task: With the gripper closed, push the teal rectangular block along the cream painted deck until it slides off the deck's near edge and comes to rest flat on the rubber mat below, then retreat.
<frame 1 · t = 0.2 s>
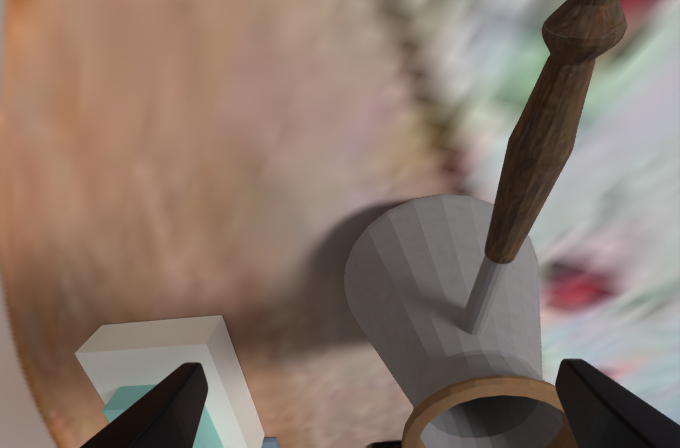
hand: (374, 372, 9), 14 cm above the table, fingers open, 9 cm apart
teal rectangular block: (177, 424, 28), point 3 cm above the table, touching deck
coffee pot: (430, 190, 22), on the table
deck: (189, 384, 30), on the table
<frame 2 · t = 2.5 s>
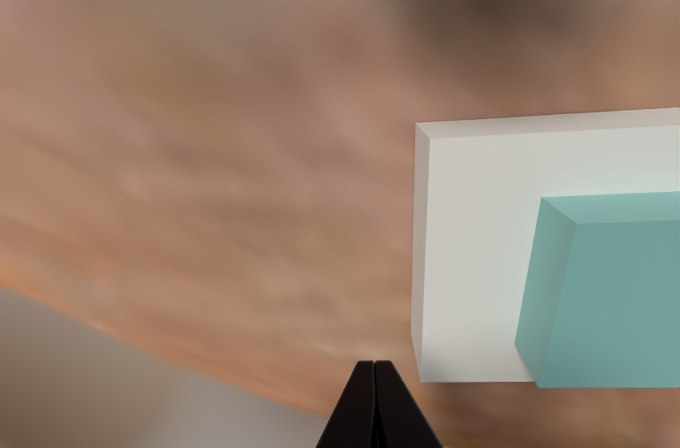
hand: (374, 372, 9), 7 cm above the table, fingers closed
teal rectangular block: (664, 274, 12), point 3 cm above the table, touching deck
deck: (582, 235, 15), on the table
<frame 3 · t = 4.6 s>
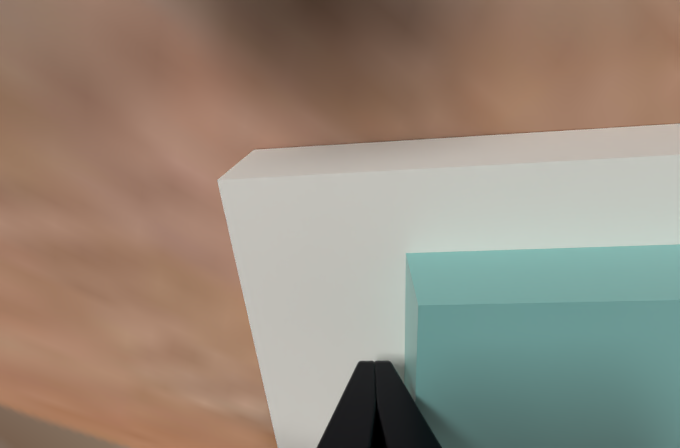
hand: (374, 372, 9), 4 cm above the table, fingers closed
teal rectangular block: (575, 346, 9), point 3 cm above the table, touching gripper
deck: (476, 281, 12), on the table
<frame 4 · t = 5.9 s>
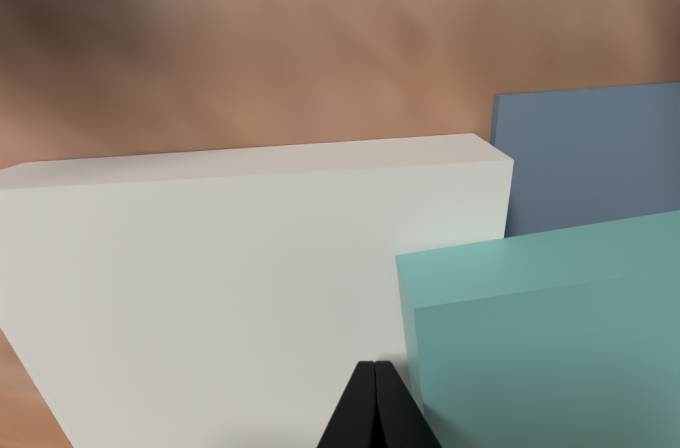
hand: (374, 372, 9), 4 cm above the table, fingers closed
teal rectangular block: (574, 325, 9), point 3 cm above the table, touching deck
deck: (264, 285, 13), on the table
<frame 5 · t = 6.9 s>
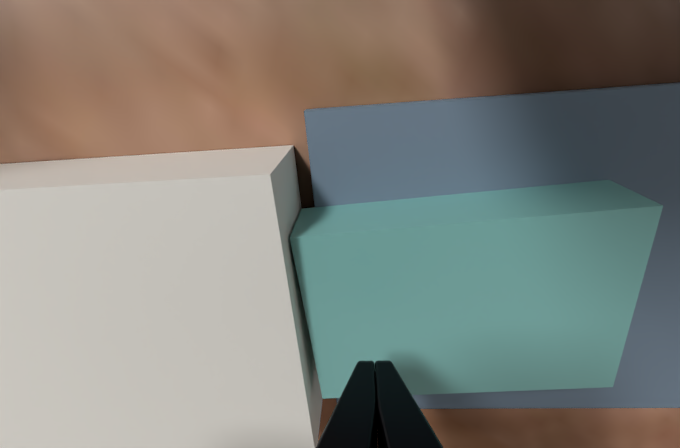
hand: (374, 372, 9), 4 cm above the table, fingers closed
mat: (550, 276, 12), on the table
teal rectangular block: (448, 278, 12), resting on mat
deck: (126, 290, 13), on the table
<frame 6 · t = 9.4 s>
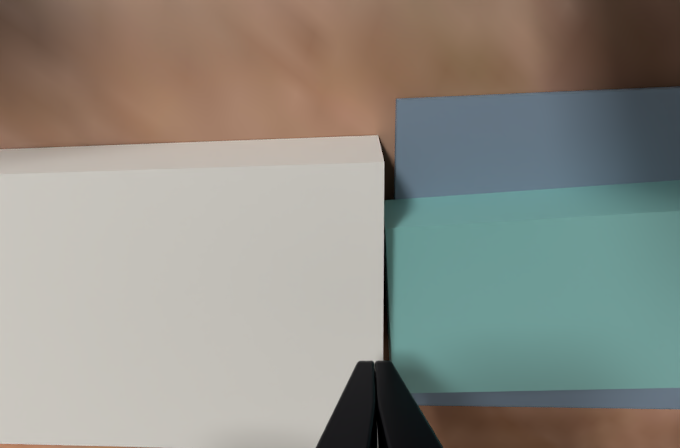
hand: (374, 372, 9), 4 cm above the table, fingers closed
mat: (623, 275, 12), on the table
teal rectangular block: (521, 275, 12), resting on mat
deck: (187, 279, 13), on the table
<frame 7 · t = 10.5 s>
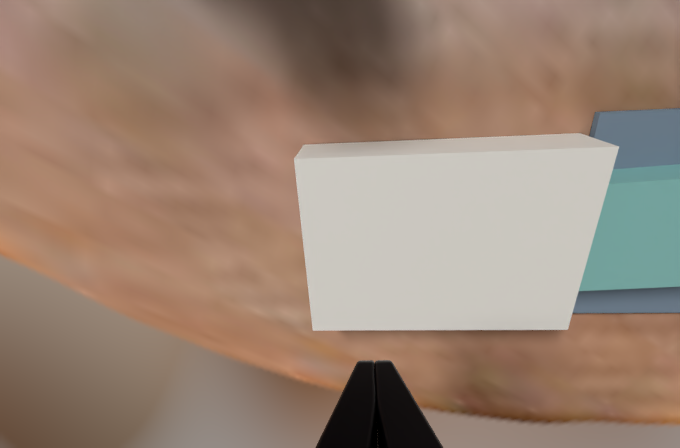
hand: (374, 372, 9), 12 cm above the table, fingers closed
teal rectangular block: (655, 219, 19), resting on mat
deck: (432, 226, 20), on the table
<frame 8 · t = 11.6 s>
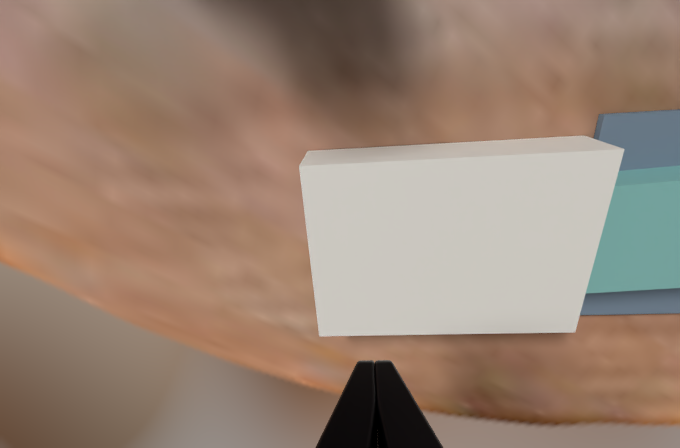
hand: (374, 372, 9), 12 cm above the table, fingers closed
teal rectangular block: (661, 220, 19), resting on mat
deck: (437, 230, 20), on the table
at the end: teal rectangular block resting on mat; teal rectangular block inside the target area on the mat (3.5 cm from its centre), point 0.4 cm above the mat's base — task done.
